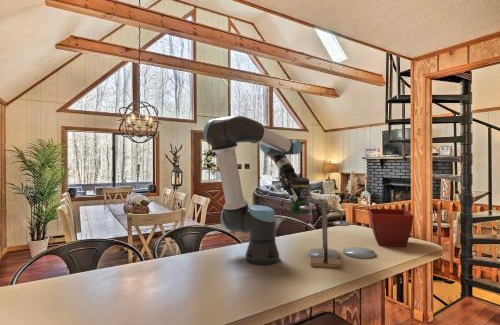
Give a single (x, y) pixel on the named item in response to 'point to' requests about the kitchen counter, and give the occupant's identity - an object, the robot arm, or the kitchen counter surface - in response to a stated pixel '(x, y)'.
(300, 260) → the kitchen counter surface
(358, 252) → the right dish
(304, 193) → the coffee jar
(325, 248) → the balance
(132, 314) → the kitchen counter surface
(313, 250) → the left dish
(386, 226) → the plant pot
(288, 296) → the kitchen counter surface
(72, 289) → the kitchen counter surface
